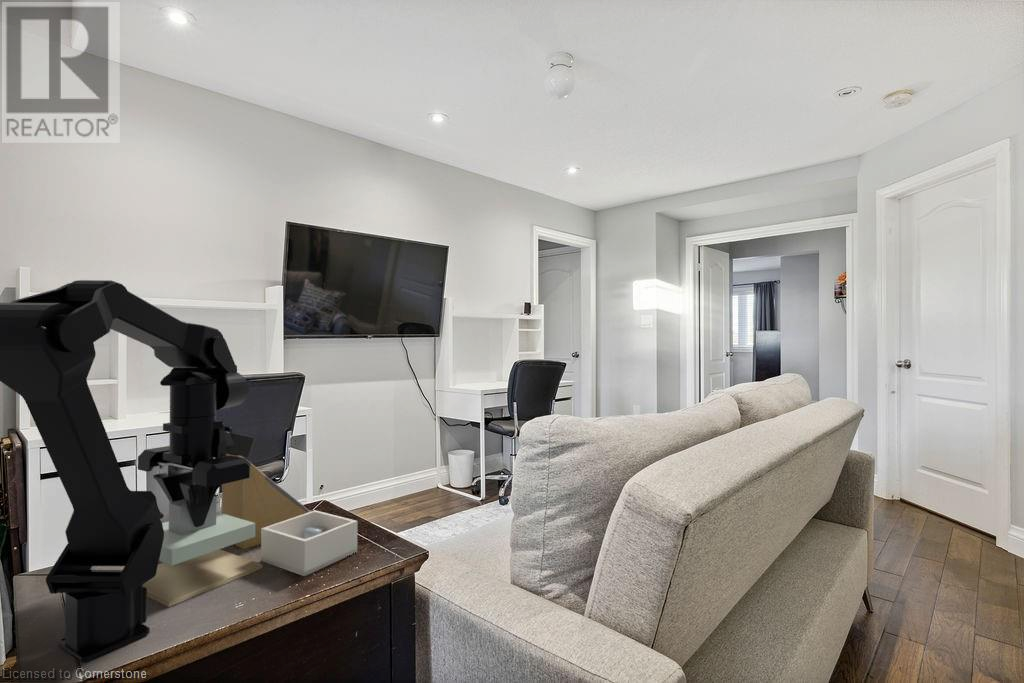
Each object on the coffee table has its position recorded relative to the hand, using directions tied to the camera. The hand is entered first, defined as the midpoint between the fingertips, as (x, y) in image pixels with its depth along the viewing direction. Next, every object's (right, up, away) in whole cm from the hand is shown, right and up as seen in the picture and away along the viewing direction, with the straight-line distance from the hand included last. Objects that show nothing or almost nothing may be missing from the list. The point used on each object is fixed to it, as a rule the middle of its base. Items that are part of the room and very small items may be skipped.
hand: (192, 524), depth 75 cm
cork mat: (0, -7, 0) cm, 7 cm away
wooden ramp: (+4, -8, +18) cm, 20 cm away
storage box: (+14, -8, +7) cm, 17 cm away
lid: (0, -3, 0) cm, 3 cm away
